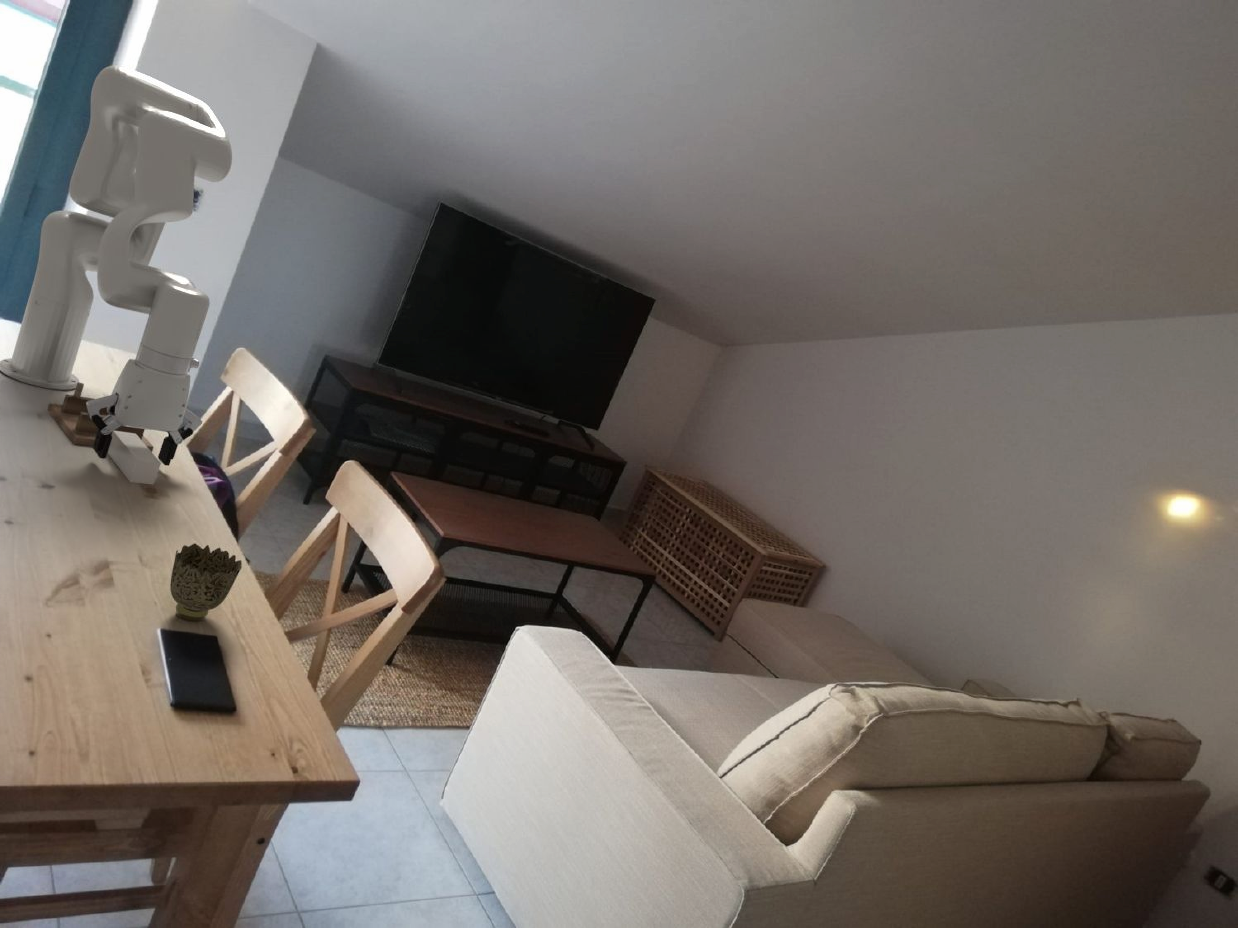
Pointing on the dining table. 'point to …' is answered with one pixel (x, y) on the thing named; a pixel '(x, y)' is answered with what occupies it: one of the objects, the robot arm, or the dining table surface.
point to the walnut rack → (84, 420)
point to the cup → (201, 580)
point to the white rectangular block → (133, 457)
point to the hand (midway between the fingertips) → (132, 458)
